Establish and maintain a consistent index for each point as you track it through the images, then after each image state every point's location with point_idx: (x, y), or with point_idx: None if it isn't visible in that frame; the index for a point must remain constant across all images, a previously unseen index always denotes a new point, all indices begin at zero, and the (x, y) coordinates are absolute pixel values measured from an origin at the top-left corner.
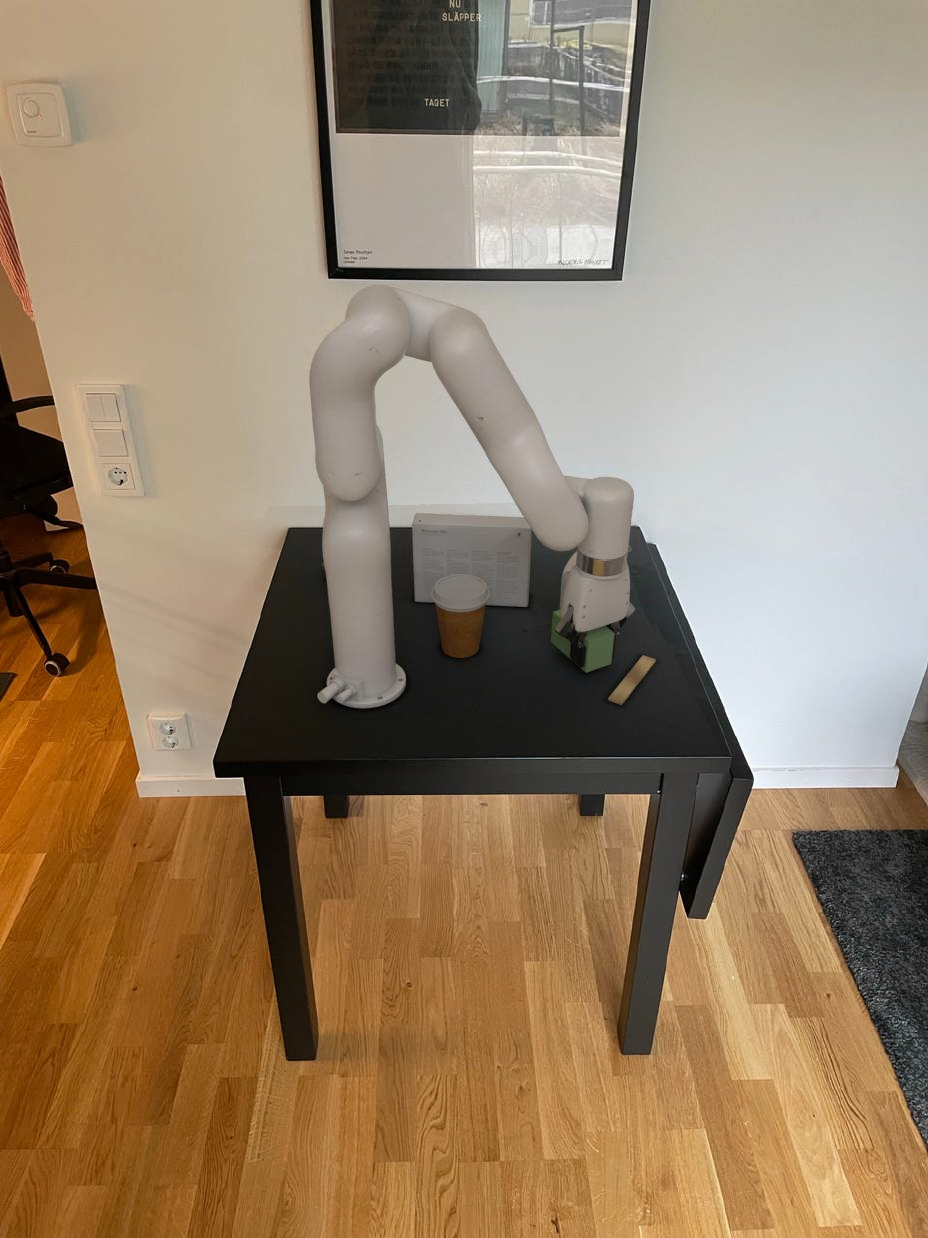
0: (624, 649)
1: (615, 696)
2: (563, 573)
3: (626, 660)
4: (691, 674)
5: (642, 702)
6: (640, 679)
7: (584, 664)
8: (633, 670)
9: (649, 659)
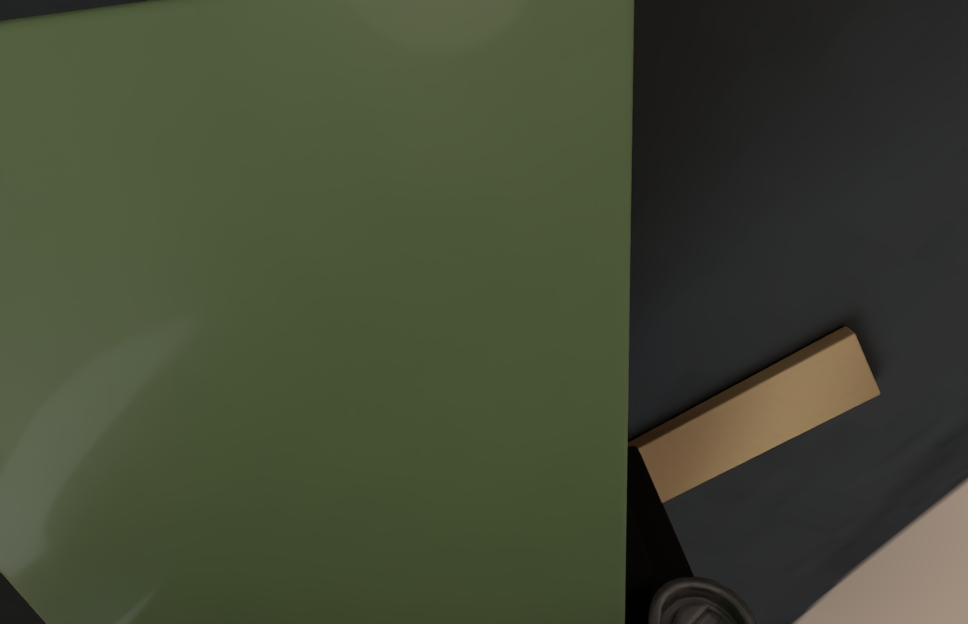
0: (820, 204)
1: None
2: None
3: (730, 320)
4: (913, 512)
5: None
6: None
7: None
8: (681, 439)
9: (848, 381)
